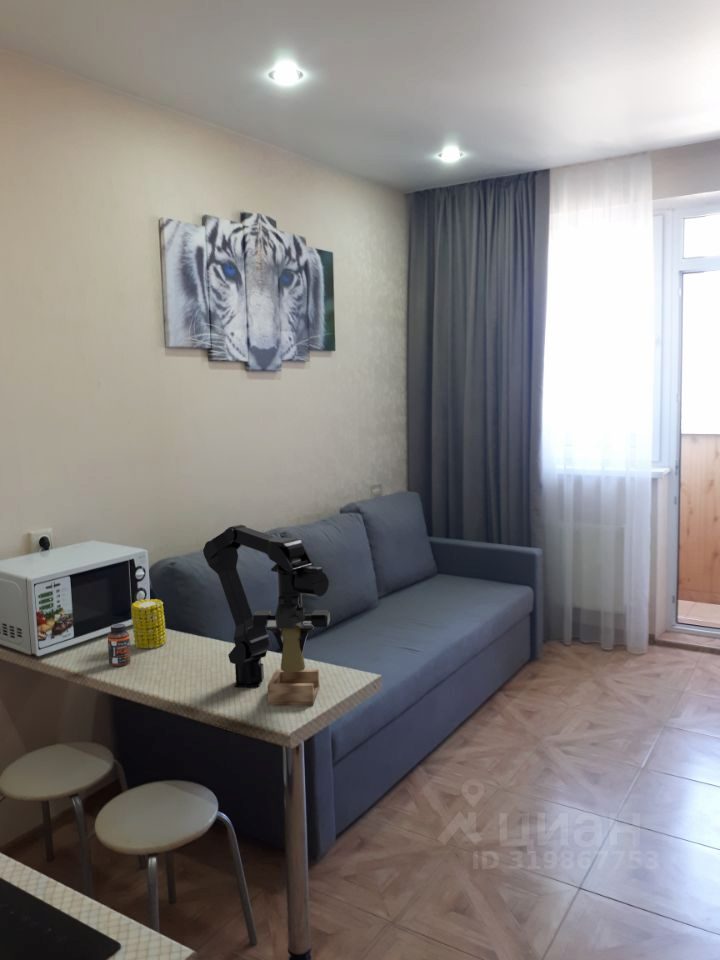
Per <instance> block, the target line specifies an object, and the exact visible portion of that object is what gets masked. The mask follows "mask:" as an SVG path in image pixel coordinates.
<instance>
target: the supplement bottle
mask: <svg viewBox="0 0 720 960" xmlns="http://www.w3.org/2000/svg"><path fill="white" fill-rule="evenodd" d="M126 629H127V628H126V624H125V623H115V624H114V623H113V624H112V625H110V632H109V633H108V635H107V650H108V663H109V666H111V667H123V666H127V665H129V664H130V663H131V659H132V658H131V655H132V654H131V642H130V641H131V640H130V632H129V631H127V630H126Z"/></svg>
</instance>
